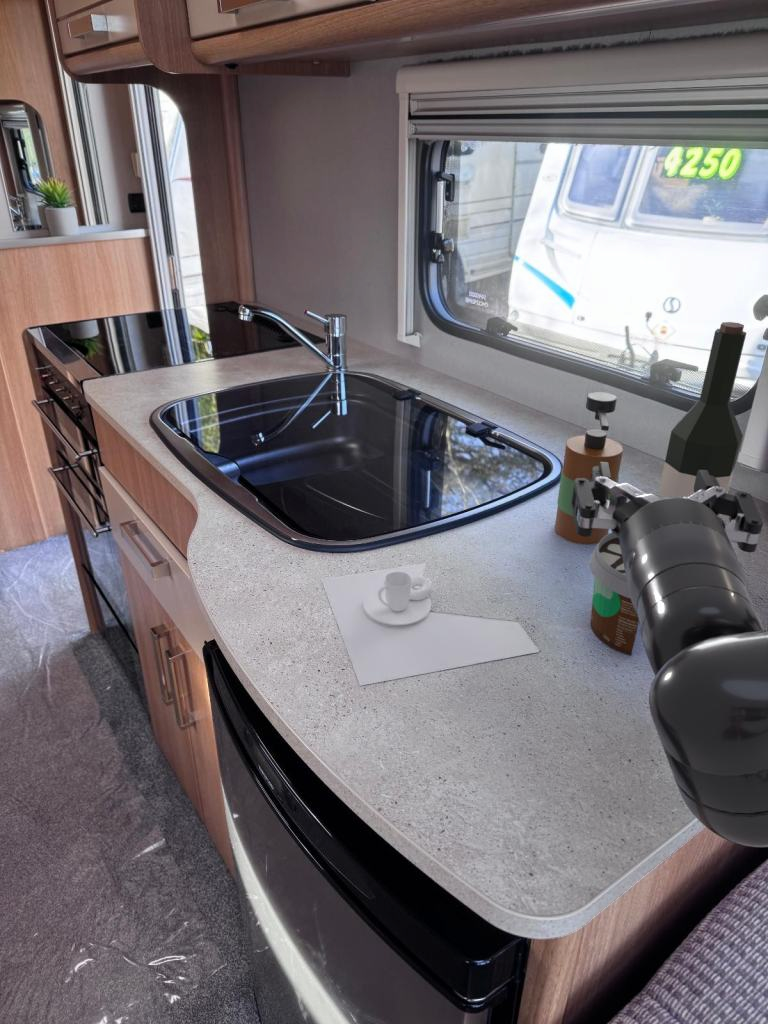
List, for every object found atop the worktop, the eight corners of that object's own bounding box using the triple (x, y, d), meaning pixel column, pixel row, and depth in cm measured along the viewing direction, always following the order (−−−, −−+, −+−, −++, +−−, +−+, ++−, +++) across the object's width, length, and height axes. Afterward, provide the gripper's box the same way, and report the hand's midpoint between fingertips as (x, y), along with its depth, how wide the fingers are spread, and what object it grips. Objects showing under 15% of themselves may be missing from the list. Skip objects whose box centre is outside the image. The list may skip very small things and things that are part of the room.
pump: (611, 414, 94) (615, 392, 93) (618, 442, 86) (622, 419, 84) (583, 412, 95) (586, 390, 93) (587, 440, 86) (591, 416, 85)
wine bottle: (705, 536, 100) (761, 317, 85) (719, 569, 92) (782, 336, 78) (643, 530, 101) (687, 314, 87) (651, 562, 94) (701, 332, 79)
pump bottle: (606, 521, 103) (623, 424, 96) (610, 547, 97) (629, 446, 90) (553, 516, 104) (566, 420, 97) (554, 542, 98) (568, 441, 91)
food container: (588, 589, 88) (600, 517, 84) (641, 601, 86) (656, 528, 81) (571, 649, 78) (583, 571, 73) (630, 664, 76) (647, 585, 71)
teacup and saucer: (425, 582, 89) (426, 554, 87) (447, 620, 83) (448, 591, 81) (356, 593, 87) (355, 565, 85) (373, 633, 80) (373, 603, 78)
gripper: (572, 602, 55) (565, 504, 69) (773, 625, 52) (723, 518, 66) (586, 515, 51) (575, 430, 65) (802, 535, 49) (743, 443, 63)
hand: (650, 475), depth 66 cm, fingers open, 8 cm apart
